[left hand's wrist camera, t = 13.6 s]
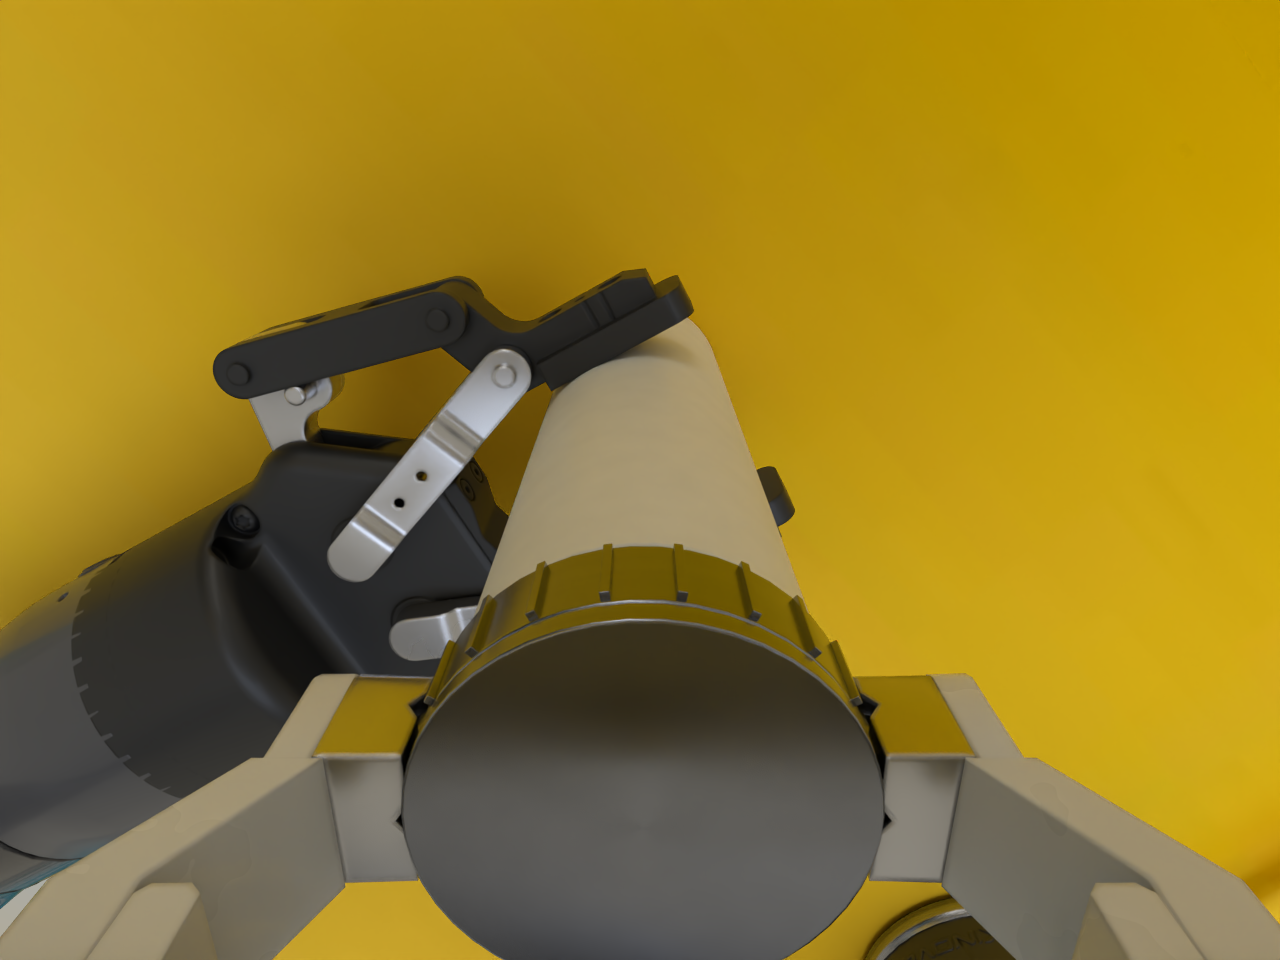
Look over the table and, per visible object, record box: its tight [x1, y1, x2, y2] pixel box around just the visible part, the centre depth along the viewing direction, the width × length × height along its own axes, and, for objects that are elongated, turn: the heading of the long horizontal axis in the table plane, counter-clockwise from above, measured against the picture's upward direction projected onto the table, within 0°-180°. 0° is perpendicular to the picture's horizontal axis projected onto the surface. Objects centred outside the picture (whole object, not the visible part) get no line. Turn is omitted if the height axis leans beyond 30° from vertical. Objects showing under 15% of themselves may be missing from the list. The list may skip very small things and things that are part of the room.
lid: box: [401, 543, 885, 960], centre depth 10 cm, size 5×5×2 cm
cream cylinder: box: [474, 318, 809, 616], centre depth 18 cm, size 5×5×18 cm
